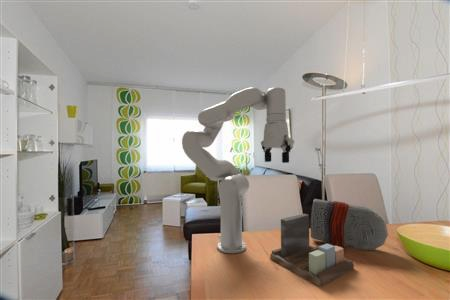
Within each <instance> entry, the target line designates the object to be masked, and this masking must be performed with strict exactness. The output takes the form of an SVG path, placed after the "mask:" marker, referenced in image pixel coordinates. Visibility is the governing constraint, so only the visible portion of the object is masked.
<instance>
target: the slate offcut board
mask: <svg viewBox="0 0 450 300" xmlns="http://www.w3.org/2000/svg"><path fill="white" fill-rule="evenodd" d="M318 247H319V251H322V252H324V253H325V261H326V270H327V269H329V268H331V267H333V266H335V246H333V245H331V243H324V244H322V245H319V246H318Z"/></svg>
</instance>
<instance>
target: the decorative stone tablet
mask: <svg viewBox="0 0 450 300" xmlns="http://www.w3.org/2000/svg"><path fill="white" fill-rule="evenodd" d="M310 215H311V217H310V238H311V239H312V240H317V241H320V242H325V243H328V244H330V245H333V246H339V247H341V248H344V247H351V248H353V249H355V250H358V251H359V250H360V251H374V250H376V249H378V248H380V247H383V246H384V245H385V244H386V240H387V238H388V236H389V232H388V227H387V223H386V222H385V220H384V218H383V217H382V216H381V215H380V214H379V213H377V212H376V211H375V210H374V209H372V208H369V207H365V206H362V205H355V204H349V203H346V202H341V201H335V200H334V201H329V200H325V199H324V200H323V199H318V198H314V199H313V202H312V207H311V214H310Z"/></svg>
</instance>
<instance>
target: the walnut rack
mask: <svg viewBox="0 0 450 300" xmlns="http://www.w3.org/2000/svg"><path fill="white" fill-rule="evenodd" d="M316 250H319V246H313V245H310V244H309V249H308V250H305V251H302V252H299V253H297V254H294V255H291V256H288V257H286V258H285V259H284V258H282V257H281V247H279V248H276V249H273V250H271V253H270V255H269V256H270V257H269V258H270V260H272V261H274V262H275V263H277V264H278V265H281V266H282V267H284V268H286V269H288V270H289V271H291V272H293V273H294V274H296V275H299V276H300V277H302V278H304V279H305V280H307V281H308V282H311V283H313V284H314V285H316V286H317V287H322V286H323V285H326V284H328V283H329V282H331V281H333V280H335V279H337V278H339V277H341V276H342V275H345V274H347V273H349V272H351V271H352V270H354V269H355V263H354V262H353V261H354V260H351V259H345V258H344V262H342V263H340V264H337V265H335V266H333V267H331V268H329V269H327V270H325V271H323V272H320V273H318V274H317V276H316V275H314V274H312V273H310V272H309V253H311V252H313V251H316ZM306 261H308V262H306ZM302 262H303V263H304V262H306V263H304V264H300V263H302ZM298 264H300V266H299V265H298Z"/></svg>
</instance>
